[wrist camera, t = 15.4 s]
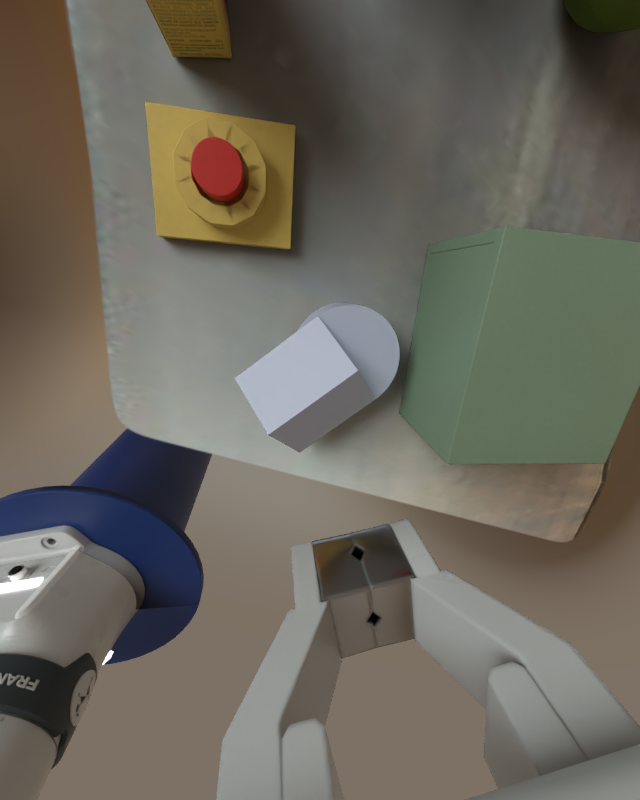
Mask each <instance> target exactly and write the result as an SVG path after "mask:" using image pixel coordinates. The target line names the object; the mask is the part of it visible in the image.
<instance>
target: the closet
mask: <svg viewBox="0 0 640 800" xmlns="http://www.w3.org/2000/svg"><path fill="white" fill-rule="evenodd" d="M639 385H640V242H632V241H624V240H616V239H608V238H599V237H591V236H583V235H574V234H566V233H558V232H550V231H541V230H533V229H525V228H516V227H508V226H505V227H501V228H496V229H492V230H488V231H484V232H479V233H475V234H471V235H467V236H463V237H458V238H454V239H450V240H446V241H442V242H437V243H433V244H430V245H429V246H428V251H427V257H426V263H425V268H424V274H423V280H422V286H421V291H420V297H419V303H418V308H417V314H416V320H415V326H414V331H413V337H412V343H411V348H410V354H409V360H408V366H407V371H406V377H405V383H404V388H403V394H402V400H401V406H400V411H399V414H400V415H401V416H402V417H403V418H404V419H405V420H406V421H407V422H408V423H409V424H410V425H411V426H412V427H413V428H414V430H415V431H416V432H417V433H418V434H419V435H420V436H421V437H422V438H423V439H424V440H425V441H426V442H427V443H428V444H429V445H430V447H431V448H432V449H433V450H434V451H435V452H436V453H437V454H438V455H439V456H440V457H441V458H442V459H443V460H444V461H445V463H446V464H605V463H606V460H607V458H608V456H609V454H610V451H611V449H612V447H613V444H614V442H615V440H616V438H617V435H618V433H619V431H620V429H621V426H622V424H623V422H624V419H625V417H626V415H627V412H628V410H629V408H630V406H631V403H632V401H633V399H634V397H635V394H636V392H637V390H638V387H639Z"/></svg>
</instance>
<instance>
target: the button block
mask: <svg viewBox="0 0 640 800" xmlns="http://www.w3.org/2000/svg"><path fill="white" fill-rule="evenodd" d="M145 104H146V116H147V127H148V138H149V149H150V161H151V172H152V183H153V195H154V206H155V217H156V228H157V235H158V236H160V237H163V238H173V239H183V240H193V241H203V242H214V243H224V244H234V245H245V246H255V247H265V248H276V249H286V250H290V248H291V224H292V199H293V174H294V150H295V125H291V124H284V123H278V122H271V121H265V120H259V119H252V118H246V117H239V116H233V115H227V114H220V113H214V112H208V111H201V110H195V109H188V108H182V107H176V106H169V105H163V104H156V103H150V102H145ZM209 137H218V138H221V139H224V140H226V141H227V142H229V143H230V144H231V145H232V146H233V147H234V148H235V149H236V151H237V152H238V154H239V156H240V158H241V162H242V165H243V169H244V173H245V184H244V188H243V190H242V192H241V194H240V195H239V196H238V197H237V198H236V199H234V200H232V201H230V202H219V201H216V200H214V199H212V198H210V197H209V196H208V195H207V194H206V193H205V192H204V191H203V189H202V188H201V187H200V186H199V184H198V183H197V181H196V180H195V178H194V175H193V172H192V168H191V157H192V153H193V150H194V148H195V147H196V145H197V144H198V143H199V142H200V141H202V140H203V139H205V138H209Z"/></svg>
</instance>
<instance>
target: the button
mask: <svg viewBox="0 0 640 800" xmlns="http://www.w3.org/2000/svg"><path fill="white" fill-rule="evenodd" d="M191 168H192V172H193V175H194V178H195V180H196V181H197V183H198V184H199V186H200V187H201V188H202V189H203V191H204V192H205V193H206V194H207V195H208V196H209V197H210V198H212V199H214V200H216V201H219V202H230V201H232V200H234V199H236V198H237V197H238V196H239V195H240V194H241V192H242V190H243V188H244V184H245V173H244V169H243V165H242V162H241V158H240V156H239V154H238V152H237V151H236V149H235V148H234V147H233V146H232V145H231V144H230V143H229V142H227V141H226V140H224V139H221V138H218V137H209V138H205V139H203V140H202V141H200V142H199V143H198V144H197V145H196V147H195V148H194V150H193V153H192V157H191Z"/></svg>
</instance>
